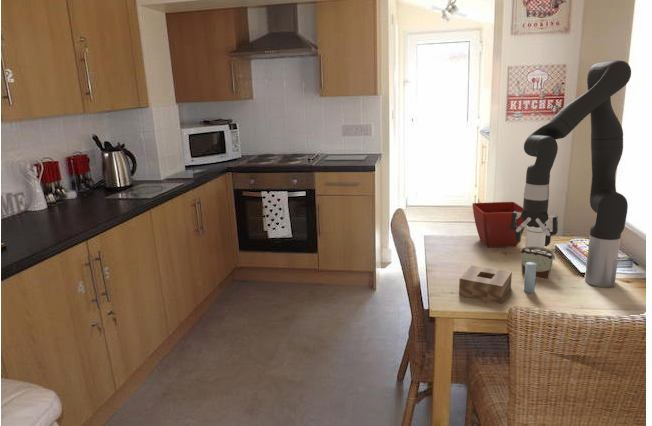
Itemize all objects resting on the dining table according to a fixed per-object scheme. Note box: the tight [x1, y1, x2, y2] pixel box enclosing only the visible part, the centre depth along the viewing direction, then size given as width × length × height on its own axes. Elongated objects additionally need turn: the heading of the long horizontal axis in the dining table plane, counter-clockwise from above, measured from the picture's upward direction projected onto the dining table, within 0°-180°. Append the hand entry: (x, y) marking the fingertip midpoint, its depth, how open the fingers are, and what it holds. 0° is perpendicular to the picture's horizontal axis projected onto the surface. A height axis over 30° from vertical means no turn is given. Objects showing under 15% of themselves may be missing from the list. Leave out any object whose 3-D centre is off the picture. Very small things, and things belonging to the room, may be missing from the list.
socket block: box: [458, 265, 513, 304], centre depth 164 cm, size 14×14×6 cm
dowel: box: [523, 262, 537, 294], centre depth 162 cm, size 3×3×10 cm
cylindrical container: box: [524, 221, 547, 248], centre depth 194 cm, size 7×7×25 cm
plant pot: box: [472, 201, 526, 248], centre depth 212 cm, size 19×19×17 cm
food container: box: [519, 246, 556, 281], centre depth 176 cm, size 12×6×10 cm, turn 47°
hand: (532, 243), depth 159 cm, fingers open, 8 cm apart
